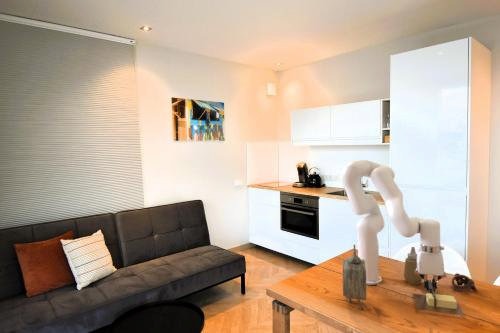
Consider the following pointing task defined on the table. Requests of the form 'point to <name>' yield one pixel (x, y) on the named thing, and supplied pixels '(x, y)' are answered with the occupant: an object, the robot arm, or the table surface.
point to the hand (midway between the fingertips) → (430, 289)
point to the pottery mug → (459, 279)
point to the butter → (446, 301)
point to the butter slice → (430, 299)
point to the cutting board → (423, 305)
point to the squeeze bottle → (411, 268)
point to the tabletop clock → (354, 278)
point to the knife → (432, 290)
